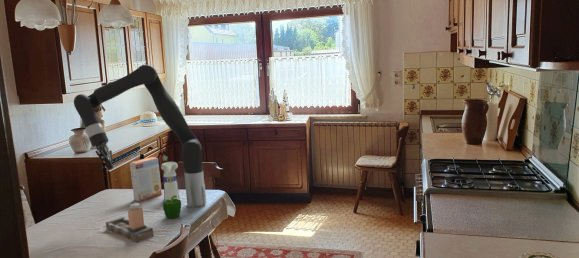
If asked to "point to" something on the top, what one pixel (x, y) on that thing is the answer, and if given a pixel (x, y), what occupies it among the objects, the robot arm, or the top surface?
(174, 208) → the bell pepper
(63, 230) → the top surface
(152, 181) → the cracker box
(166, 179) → the white bottle
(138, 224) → the slider tab
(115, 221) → the fader track
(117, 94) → the robot arm
